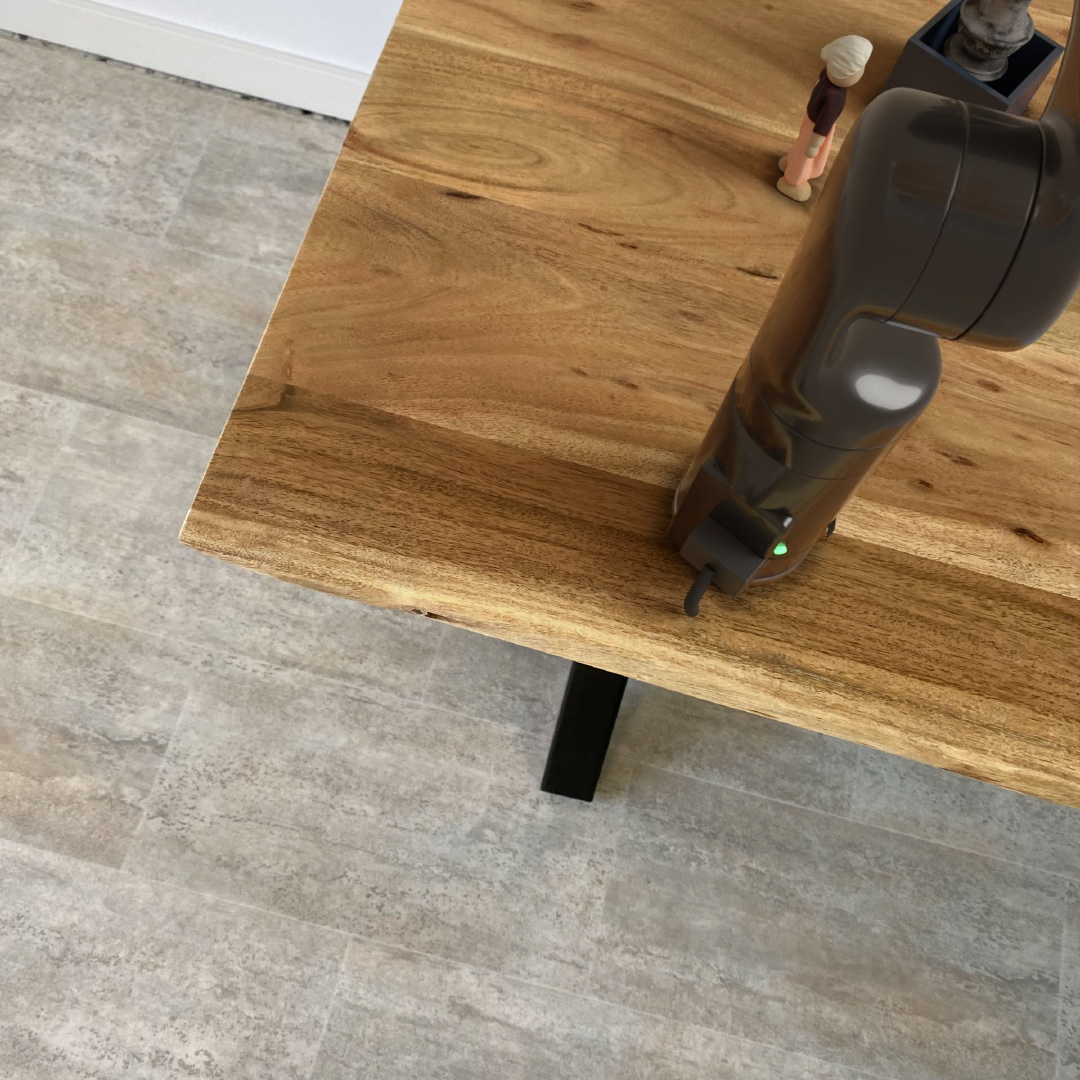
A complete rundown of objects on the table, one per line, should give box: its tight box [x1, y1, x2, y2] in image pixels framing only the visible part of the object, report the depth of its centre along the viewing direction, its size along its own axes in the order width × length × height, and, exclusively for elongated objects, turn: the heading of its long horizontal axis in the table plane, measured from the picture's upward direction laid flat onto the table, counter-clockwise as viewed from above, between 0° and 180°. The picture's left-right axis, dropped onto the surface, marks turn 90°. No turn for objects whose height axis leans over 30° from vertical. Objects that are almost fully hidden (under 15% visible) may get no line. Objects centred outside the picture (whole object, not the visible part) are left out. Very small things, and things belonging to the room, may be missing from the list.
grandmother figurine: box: [776, 34, 874, 202], centre depth 79 cm, size 8×4×13 cm, turn 179°
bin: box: [880, 0, 1065, 116], centre depth 88 cm, size 9×9×7 cm
